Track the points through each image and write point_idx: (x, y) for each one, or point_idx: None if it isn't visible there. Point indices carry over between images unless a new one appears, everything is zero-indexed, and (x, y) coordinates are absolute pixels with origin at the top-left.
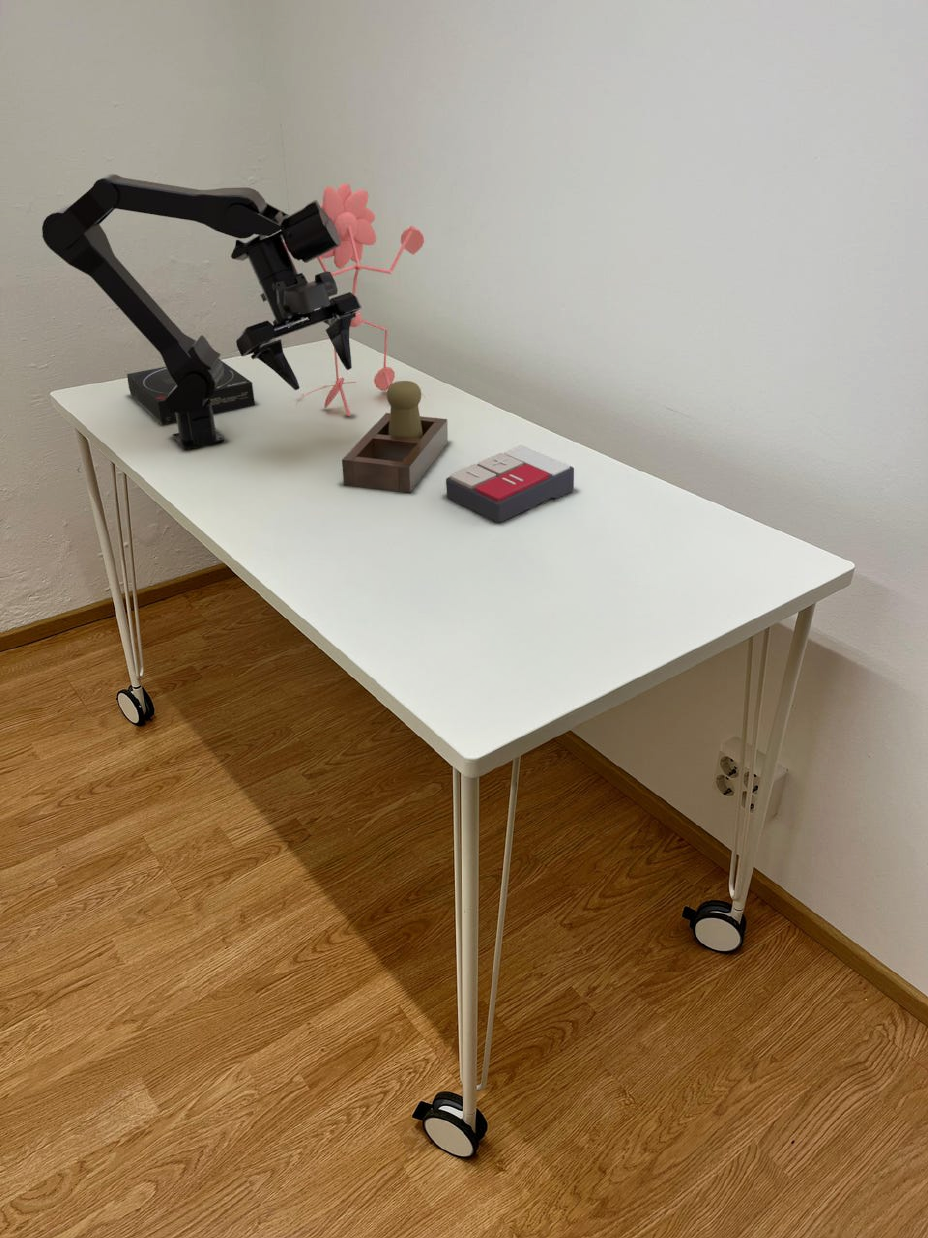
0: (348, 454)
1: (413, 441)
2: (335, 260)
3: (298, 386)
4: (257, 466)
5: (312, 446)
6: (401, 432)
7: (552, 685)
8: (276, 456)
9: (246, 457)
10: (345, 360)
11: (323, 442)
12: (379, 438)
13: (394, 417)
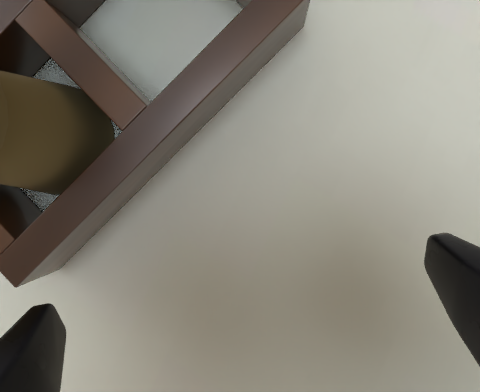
0: (276, 17)
1: (44, 10)
2: None
3: (440, 235)
4: None
5: (273, 315)
6: (47, 88)
7: None
8: (392, 304)
9: None
10: (38, 353)
11: (234, 325)
12: (130, 90)
13: (32, 105)
